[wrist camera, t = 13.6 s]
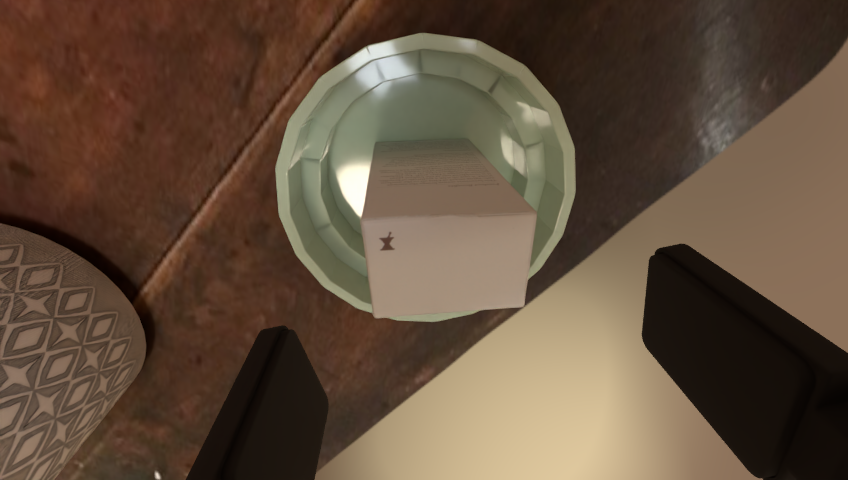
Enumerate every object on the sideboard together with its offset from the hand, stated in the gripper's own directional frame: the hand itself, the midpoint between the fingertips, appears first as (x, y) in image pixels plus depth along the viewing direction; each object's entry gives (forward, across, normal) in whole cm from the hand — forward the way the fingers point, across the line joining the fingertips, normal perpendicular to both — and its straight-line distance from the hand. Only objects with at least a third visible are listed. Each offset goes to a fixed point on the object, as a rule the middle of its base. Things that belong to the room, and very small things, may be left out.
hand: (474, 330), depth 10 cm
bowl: (+16, +1, 0) cm, 16 cm away
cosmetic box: (+16, 0, 0) cm, 16 cm away
